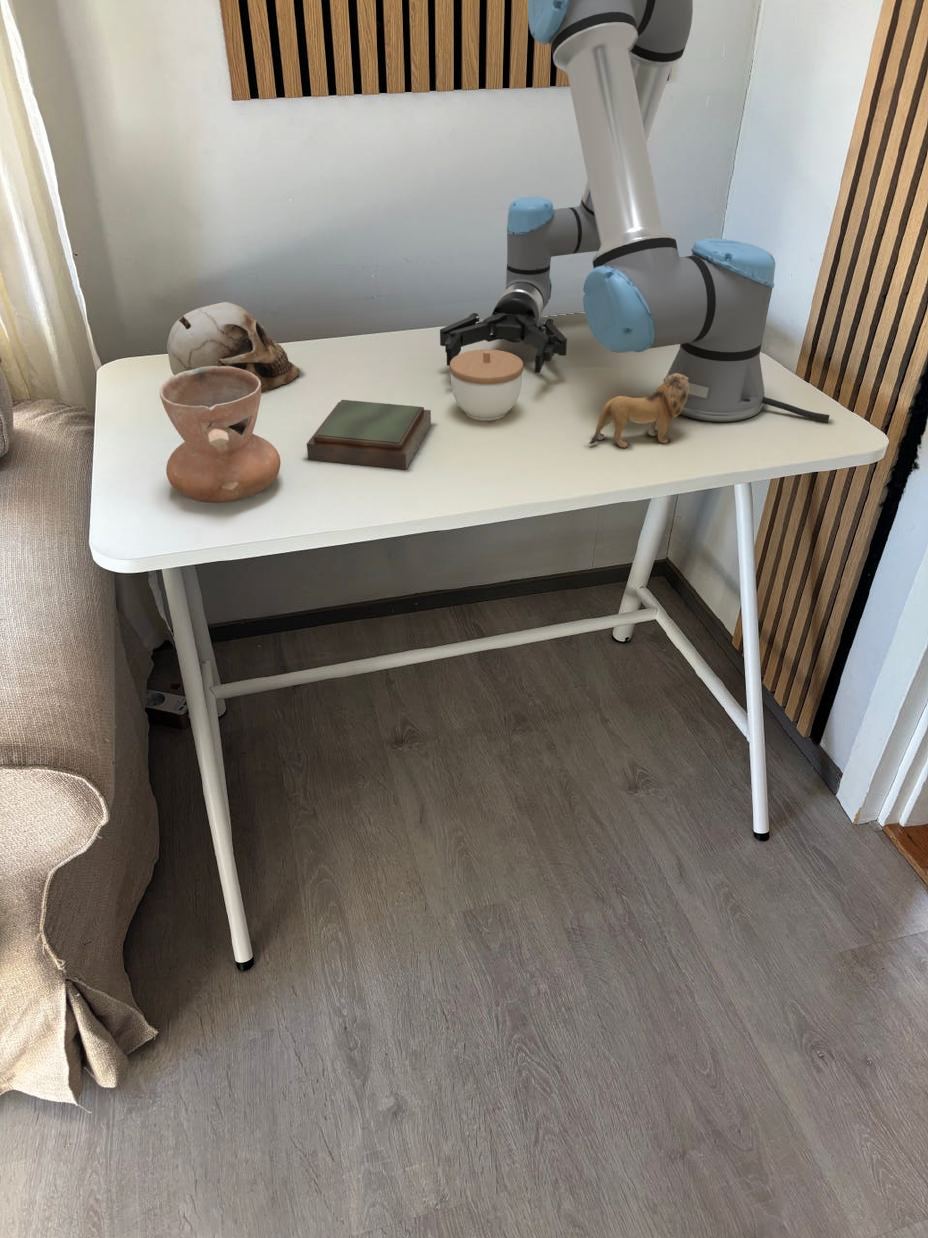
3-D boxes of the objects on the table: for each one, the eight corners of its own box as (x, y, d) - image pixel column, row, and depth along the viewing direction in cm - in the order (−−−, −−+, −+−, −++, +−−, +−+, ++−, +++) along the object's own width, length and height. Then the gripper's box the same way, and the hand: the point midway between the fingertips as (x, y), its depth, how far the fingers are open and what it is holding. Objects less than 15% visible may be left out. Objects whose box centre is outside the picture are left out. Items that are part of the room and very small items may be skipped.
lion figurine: (672, 424, 141) (680, 365, 136) (691, 439, 137) (700, 379, 132) (581, 439, 137) (586, 379, 132) (597, 455, 133) (603, 394, 128)
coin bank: (308, 370, 157) (291, 290, 148) (243, 421, 146) (221, 338, 137) (233, 356, 163) (213, 279, 155) (165, 404, 152) (139, 324, 144)
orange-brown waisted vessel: (290, 511, 121) (276, 405, 113) (171, 526, 119) (149, 419, 110) (275, 448, 135) (262, 350, 127) (169, 460, 133) (149, 361, 124)
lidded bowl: (444, 425, 141) (443, 363, 135) (456, 395, 150) (456, 336, 144) (517, 430, 140) (519, 368, 134) (525, 399, 148) (527, 340, 142)
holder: (431, 425, 141) (430, 404, 139) (406, 469, 130) (405, 447, 128) (340, 416, 144) (338, 395, 142) (308, 459, 133) (305, 437, 131)
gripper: (589, 340, 162) (573, 391, 145) (445, 329, 166) (413, 377, 150) (593, 295, 157) (576, 342, 141) (445, 285, 162) (412, 330, 145)
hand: (492, 360), depth 145 cm, fingers open, 13 cm apart
